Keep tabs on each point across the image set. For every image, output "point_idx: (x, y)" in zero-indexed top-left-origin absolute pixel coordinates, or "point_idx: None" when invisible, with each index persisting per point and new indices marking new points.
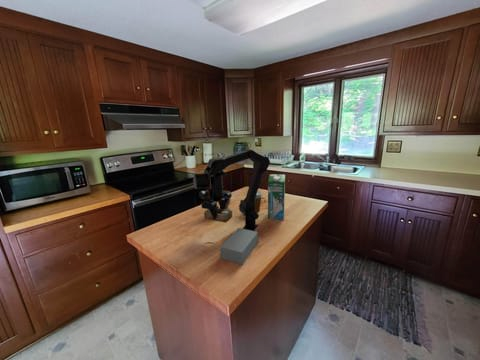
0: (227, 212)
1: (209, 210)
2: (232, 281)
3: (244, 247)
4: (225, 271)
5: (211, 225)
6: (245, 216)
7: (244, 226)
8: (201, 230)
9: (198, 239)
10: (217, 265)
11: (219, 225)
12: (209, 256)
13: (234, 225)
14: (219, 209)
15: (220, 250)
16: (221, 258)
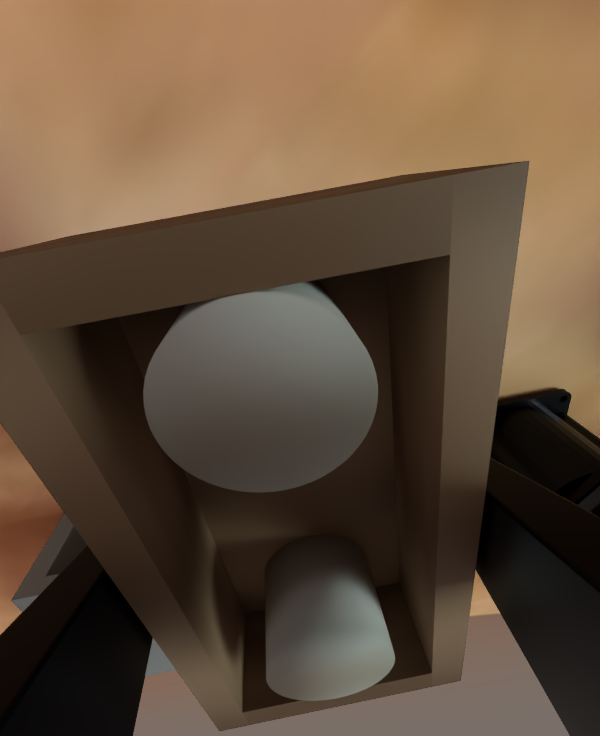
0: (342, 697)
1: (179, 378)
2: (7, 623)
3: (146, 670)
4: (19, 579)
5: (432, 43)
6: (580, 486)
7: (501, 408)
8: (248, 10)
9: (76, 175)
10: (9, 533)
11: (466, 159)
12: (14, 451)
13: (510, 311)
14: (434, 516)
15: (30, 571)
16: (65, 518)
